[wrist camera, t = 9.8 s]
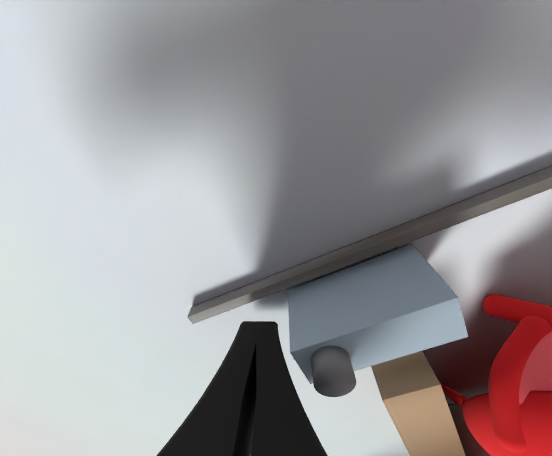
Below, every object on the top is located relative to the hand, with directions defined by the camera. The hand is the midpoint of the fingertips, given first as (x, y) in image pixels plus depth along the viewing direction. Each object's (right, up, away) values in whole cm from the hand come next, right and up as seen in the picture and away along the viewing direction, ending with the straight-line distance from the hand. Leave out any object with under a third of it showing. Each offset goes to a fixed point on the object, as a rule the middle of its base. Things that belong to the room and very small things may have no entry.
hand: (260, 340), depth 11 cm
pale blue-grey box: (+4, +2, 0) cm, 4 cm away
